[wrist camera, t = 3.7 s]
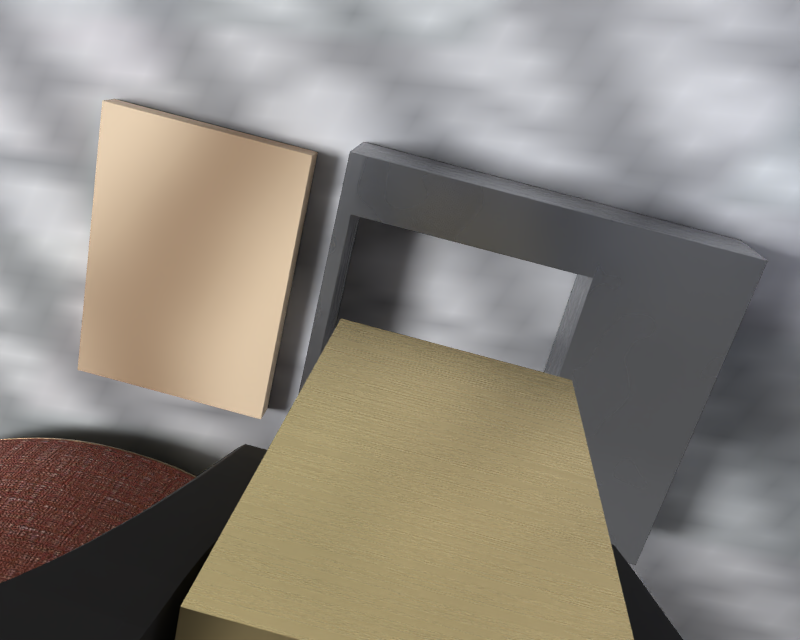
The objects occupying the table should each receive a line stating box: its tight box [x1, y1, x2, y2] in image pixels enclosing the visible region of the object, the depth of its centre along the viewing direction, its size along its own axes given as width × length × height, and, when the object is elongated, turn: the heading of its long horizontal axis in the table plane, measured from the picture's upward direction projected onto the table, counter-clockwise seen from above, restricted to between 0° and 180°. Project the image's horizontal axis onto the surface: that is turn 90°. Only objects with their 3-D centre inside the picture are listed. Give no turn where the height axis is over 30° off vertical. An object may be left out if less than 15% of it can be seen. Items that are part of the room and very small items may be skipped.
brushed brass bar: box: [175, 319, 634, 640], centre depth 10 cm, size 4×4×7 cm
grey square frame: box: [298, 142, 767, 565], centre depth 18 cm, size 9×8×2 cm
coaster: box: [78, 99, 318, 419], centre depth 19 cm, size 5×7×1 cm
